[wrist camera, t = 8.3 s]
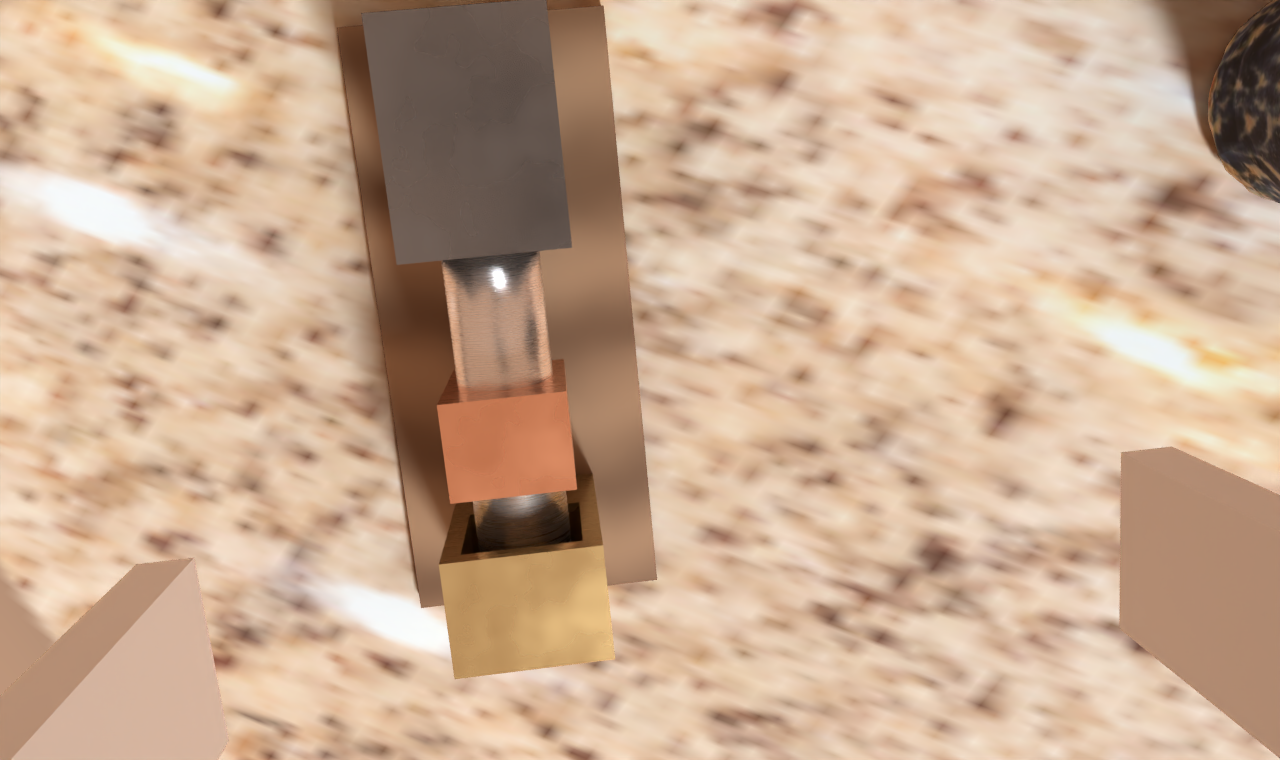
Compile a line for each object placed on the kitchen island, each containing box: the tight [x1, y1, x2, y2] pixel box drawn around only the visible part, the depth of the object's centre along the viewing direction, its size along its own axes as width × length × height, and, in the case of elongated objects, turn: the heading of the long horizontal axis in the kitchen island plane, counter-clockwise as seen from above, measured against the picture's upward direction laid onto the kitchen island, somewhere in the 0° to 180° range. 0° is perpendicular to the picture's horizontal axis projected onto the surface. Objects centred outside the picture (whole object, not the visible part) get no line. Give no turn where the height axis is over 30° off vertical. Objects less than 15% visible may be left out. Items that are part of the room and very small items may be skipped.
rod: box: [437, 251, 577, 553], centre depth 43 cm, size 17×5×7 cm, turn 5°
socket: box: [439, 474, 615, 679], centre depth 47 cm, size 5×7×11 cm
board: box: [337, 6, 657, 608], centre depth 50 cm, size 28×12×1 cm, turn 5°
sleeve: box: [361, 0, 572, 265], centre depth 43 cm, size 9×7×11 cm
